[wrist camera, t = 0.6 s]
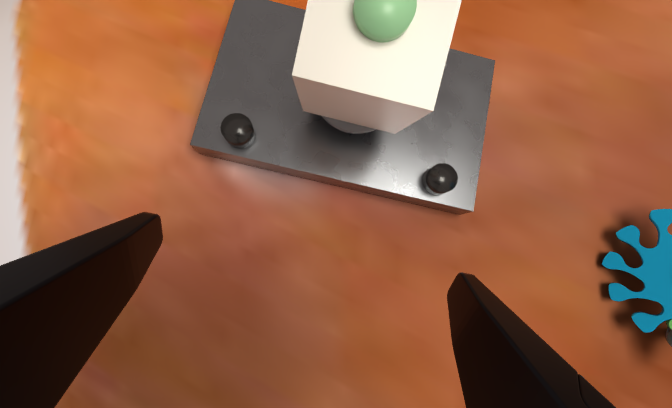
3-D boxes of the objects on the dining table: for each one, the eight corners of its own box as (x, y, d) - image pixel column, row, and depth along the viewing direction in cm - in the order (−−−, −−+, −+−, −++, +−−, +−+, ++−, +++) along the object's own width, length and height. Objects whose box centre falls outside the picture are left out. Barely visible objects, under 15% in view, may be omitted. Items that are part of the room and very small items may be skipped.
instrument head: (390, 143, 21) (435, 120, 12) (302, 121, 21) (287, 83, 12) (425, -2, 20) (499, -132, 12) (335, -26, 20) (343, -179, 11)
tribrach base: (459, 214, 24) (482, 209, 21) (200, 153, 23) (183, 138, 20) (480, 75, 26) (504, 50, 23) (243, 12, 25) (233, -22, 22)
